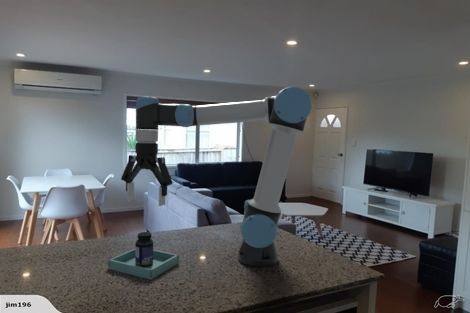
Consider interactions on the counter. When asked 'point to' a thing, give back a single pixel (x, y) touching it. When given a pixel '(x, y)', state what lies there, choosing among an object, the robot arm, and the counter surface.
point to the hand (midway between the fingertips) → (145, 203)
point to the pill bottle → (144, 250)
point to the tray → (127, 265)
